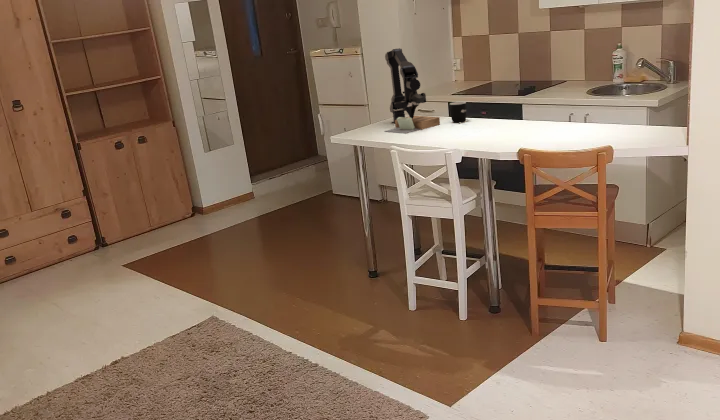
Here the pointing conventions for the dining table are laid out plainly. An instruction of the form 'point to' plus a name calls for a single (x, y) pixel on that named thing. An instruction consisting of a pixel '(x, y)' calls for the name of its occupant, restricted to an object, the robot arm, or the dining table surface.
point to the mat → (401, 130)
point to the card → (405, 123)
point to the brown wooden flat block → (423, 122)
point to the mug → (458, 111)
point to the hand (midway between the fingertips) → (411, 118)
